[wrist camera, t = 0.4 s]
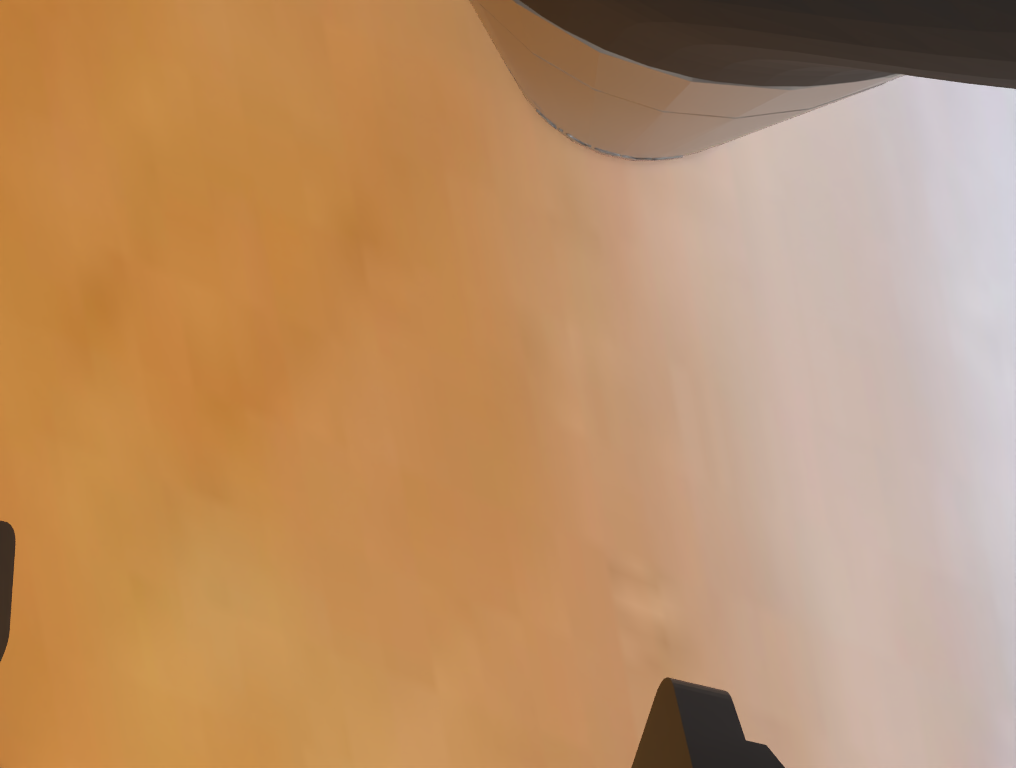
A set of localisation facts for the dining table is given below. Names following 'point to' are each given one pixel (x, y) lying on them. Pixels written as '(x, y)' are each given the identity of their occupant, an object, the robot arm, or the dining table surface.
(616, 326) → the dining table surface
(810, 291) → the dining table surface
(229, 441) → the dining table surface
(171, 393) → the dining table surface
